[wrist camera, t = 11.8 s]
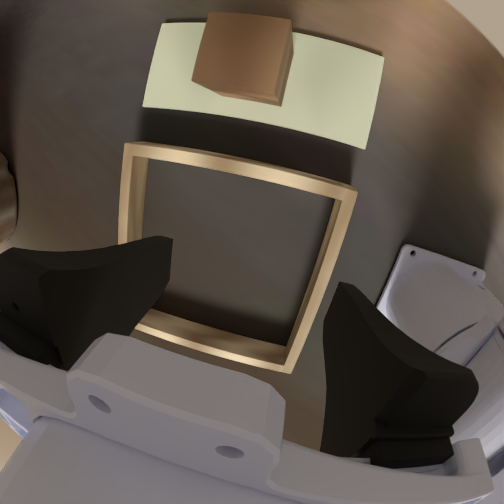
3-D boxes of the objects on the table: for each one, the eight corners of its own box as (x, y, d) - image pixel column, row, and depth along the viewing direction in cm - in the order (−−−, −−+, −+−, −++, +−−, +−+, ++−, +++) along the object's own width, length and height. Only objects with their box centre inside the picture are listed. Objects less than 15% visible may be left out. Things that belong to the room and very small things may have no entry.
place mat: (382, 59, 15) (384, 57, 14) (363, 149, 17) (365, 149, 17) (165, 25, 16) (162, 23, 15) (145, 107, 18) (142, 106, 18)
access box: (350, 185, 19) (357, 191, 16) (291, 354, 25) (290, 373, 23) (142, 141, 19) (124, 142, 17) (133, 308, 26) (121, 323, 24)
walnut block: (293, 53, 15) (291, 19, 10) (281, 106, 17) (273, 92, 11) (234, 44, 15) (209, 11, 10) (222, 96, 17) (190, 80, 12)
